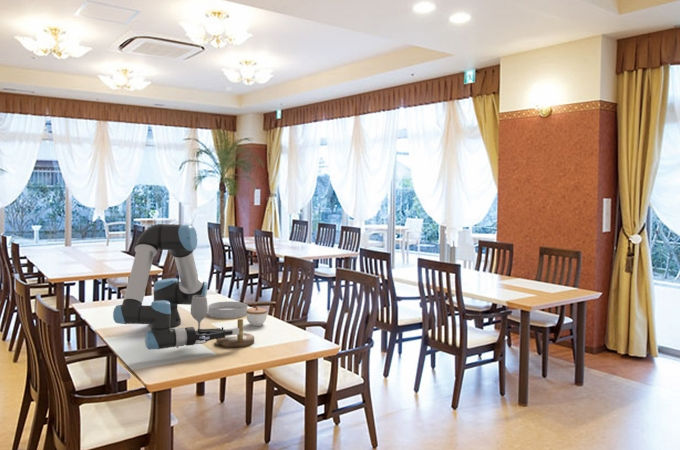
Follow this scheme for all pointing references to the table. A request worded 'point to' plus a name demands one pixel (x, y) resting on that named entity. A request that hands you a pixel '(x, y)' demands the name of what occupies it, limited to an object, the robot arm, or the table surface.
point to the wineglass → (199, 310)
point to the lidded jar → (256, 316)
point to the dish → (227, 309)
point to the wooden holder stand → (236, 338)
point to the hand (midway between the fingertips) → (238, 331)
